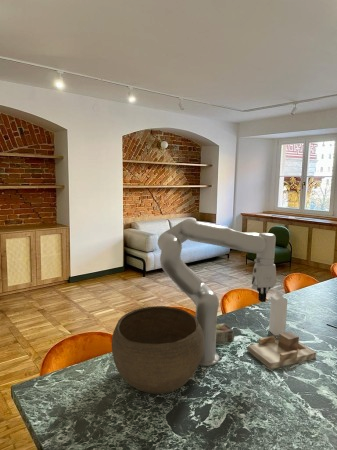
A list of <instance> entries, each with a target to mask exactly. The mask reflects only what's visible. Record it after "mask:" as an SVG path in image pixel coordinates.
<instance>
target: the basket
mask: <svg viewBox="0 0 337 450" xmlns="http://www.w3.org/2000/svg"><path fill="white" fill-rule="evenodd" d="M111 337H112V338H111V354H112V357H113V361H114V365H115V368H116V370H117V372H118V374H119V375H120V376H121V377H122V378H123V380H124V381H125V382H126V383H127V384H129V385H130V386H132V387H133V388H135V389H137V390H139V391H142V392H144V393H148V394H153V395H154V394H156V395H157V394H159V395H160V394H167V393H171V392H174V391H176V390H178V389H180V388H181V387H183V386H184V385H186V383H188V382H189V381H190V380H191V379H192V377H193V376H194V374H195V373H196V371H197V369H198V368H199V366H200V365H199V363H200V360H201V358H202V355H203V346H204V337H203V331H202V328H201V326H200V324H199V323H198V320H197V318H196V317H195V315H193V314H191V313H190V312H188V311H187V310H186V309H185V310H184V309H181V308H177V307H171V306H166V305H156V306H155V305H154V306H153V305H152V306H146V307H140V308H137V309H133V310H131V311H129V312H127V313H125V314H124V315H122V316H121V317H120V318H119V319H118V321H117V323H116V325H115V327H114V330H113V332H112V336H111Z"/></svg>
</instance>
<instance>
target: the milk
mask: <svg viewBox="0 0 337 450" xmlns="http://www.w3.org/2000/svg"><path fill="white" fill-rule="evenodd" d="M269 309H270V310H269V325H268V331H269V332H270V333H271V334H272V336H274V337H276V336H277V337H279V334H280V333H284V332H286V331H287V330H286V327H287V326H286V325H287V313H288V299H287V297H284V296H283V293H282V292H280V290H277V289H276V292H275V293H274V294H272V295H271V296H270V307H269Z"/></svg>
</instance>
